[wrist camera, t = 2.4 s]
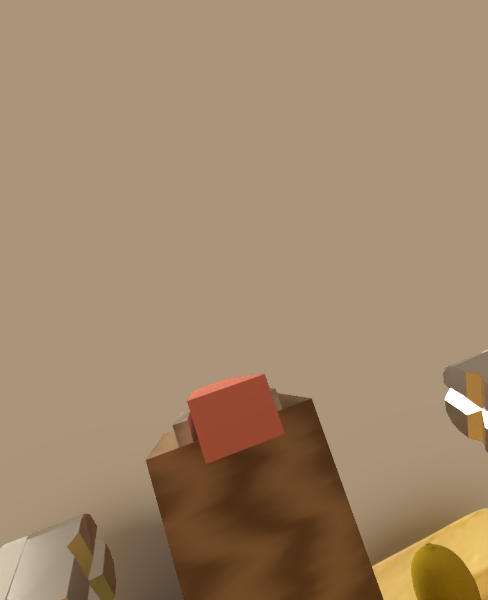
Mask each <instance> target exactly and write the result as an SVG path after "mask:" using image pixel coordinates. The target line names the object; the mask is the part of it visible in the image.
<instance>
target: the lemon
mask: <svg viewBox="0 0 488 600" xmlns="http://www.w3.org/2000/svg"><path fill="white" fill-rule="evenodd" d="M411 575H412V581H413V586H414V590H415V593H416V596H417V599H418V600H481V598H480V594H479V590H478V587H477V584H476V582H475V580H474V578H473V576H472V575H471V573H470V571H469V570H468V568H467V567H466V565H465V564H464V562H463V561H462V560H461V559H460V558H459V557H458V556H457V555H456V554H455V553H454V552H453V551H451V550H450V549H448V548H445V547H443V546H440V545H435V544H431V543H427V544H425V546H423V547H422V548H420V549H419V550H418V551H417V552H416V554H415V555H414V557H413V560H412V565H411Z"/></svg>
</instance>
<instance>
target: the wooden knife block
mask: <svg viewBox="0 0 488 600" xmlns="http://www.w3.org/2000/svg"><path fill="white" fill-rule="evenodd" d="M270 391H271V394H272V397H273V400H274V403H275V406H276V409H277V412H278V415H279V418H280V421H281V424H282V427H283V430H284V432H285V434H283V435H280V436H278V437H275V438H273V439H270V440H267V441H265V442H262V443H260V444H257V445H254V446H252V447H249V448H247V449H244V450H241V451H239V452H236V453H234V454H231V455H228V456H226V457H223V458H220V459H218V460H215V461H213V462H210V463H207V464H206V463H205V460H204V456H203V453H202V450H201V446H200V443H199V440H198V436H197V433H196V429H195V426H194V423H193V419H192V416H191V413H190V409H187V410H184V411H181V413H180V415H179V417H178V418H177V419H176V421H175V423H174V424H173V428H174V431H172V432H169V433H166V434H164V435H163V436H162V437H161V439H160V440H159V442H158V443H157V445H156V446H155V448H154V449H153V450H152V452H151V453H150V455H149V456H148V458H147V459H146V462H147V466H148V470H149V474H150V477H151V481H152V485H153V488H154V492H155V496H156V499H157V503H158V507H159V510H160V514H161V518H162V521H163V525H164V529H165V532H166V536H167V540H168V543H169V547H170V550H171V555H172V558H173V562H174V566H175V569H176V573H177V577H178V580H179V584H180V588H181V591H182V595H183V599H184V600H383V597H382V594H381V591H380V589H379V586H378V583H377V580H376V577H375V575H374V572H373V569H372V566H371V564H370V561H369V558H368V555H367V552H366V549H365V547H364V544H363V541H362V538H361V536H360V533H359V530H358V527H357V524H356V522H355V519H354V516H353V513H352V511H351V508H350V505H349V502H348V499H347V496H346V494H345V491H344V488H343V485H342V482H341V480H340V477H339V474H338V471H337V468H336V466H335V463H334V460H333V457H332V454H331V452H330V449H329V446H328V443H327V440H326V438H325V435H324V432H323V429H322V426H321V424H320V421H319V418H318V415H317V412H316V410H315V407H314V404H313V401H312V399H311V398H305V397H298V396H292V395H284V394H279V393H277V392H276V389H275V388H270Z"/></svg>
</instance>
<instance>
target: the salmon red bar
mask: <svg viewBox="0 0 488 600" xmlns="http://www.w3.org/2000/svg"><path fill="white" fill-rule="evenodd" d="M187 402H188V406H189V409H190V413H191V416H192V419H193V423H194V426H195V429H196V433H197V436H198V440H199V443H200V446H201V450H202V453H203V456H204V460H205V463H206V464H207V463H210V462H213V461H215V460H218V459H220V458H223V457H226V456H228V455H231V454H234V453H236V452H239V451H241V450H244V449H247V448H249V447H252V446H254V445H257V444H260V443H262V442H265V441H267V440H270V439H273V438H275V437H278V436H280V435H283V434H285V432H284V430H283V427H282V424H281V421H280V418H279V415H278V412H277V409H276V406H275V403H274V400H273V397H272V394H271V391H270V388H269V385H268V382H267V379H266V377H265V374H260V375H252V376H243V377H234V378H229V379H226V380H223V381H220V382H217V383H214V384H211V385H209V386H205V387H203V388H200V389H197V390H194V392H193V393H192V395H191V396H190V397H189V399H188V401H187Z"/></svg>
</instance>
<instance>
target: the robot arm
mask: <svg viewBox="0 0 488 600" xmlns="http://www.w3.org/2000/svg"><path fill="white" fill-rule="evenodd" d="M443 376H444V384H445V385H446V386H448V387H449V388H450V390H449V392H448V394H447V396H446V398H445V403H446V412H447V413H448V415H449V417H450V419H451V421H452V423H453V424H454V425H455V426H456V427H457V429H458V430H459V431H460V432H462V433H463V434H464V435H466V436H467V437H468V438H471V439H475V440H479V441H482V442H483V443H484V446H485V449H486V451H487V452H488V350H486V351H483V352H482V353H480V354H477V355H475V356H472V357H470V358H468V359H465V360H463V361H460V362H458V363H455V364H453V365H450V366H448V367H446V369H445V371H444V373H443ZM96 530H97V526H96V524H95V522H94V520H93V519H92V517H91V515H89V514H82V515H80V516H77V517H74V518H72V519H69V520H66V521H64V522H61V523H59V524H56V525H53V526H51V527H48V528H45V529H43V530H40V531H37V532H35V533H32V534H31V535H29V536H26V537H23V538H21V539H18V540H15V541H13V542H10V543H7V544H5V545H3V547H2V548H1V549H0V600H113V599H114V598H115V588H116V587H115V586H116V578H115V569H114V563H113V559H112V556H111V553H110V550H109V548H108V546H107V544H106V543H105V542H103V541H100V540H98V539H96Z"/></svg>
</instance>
